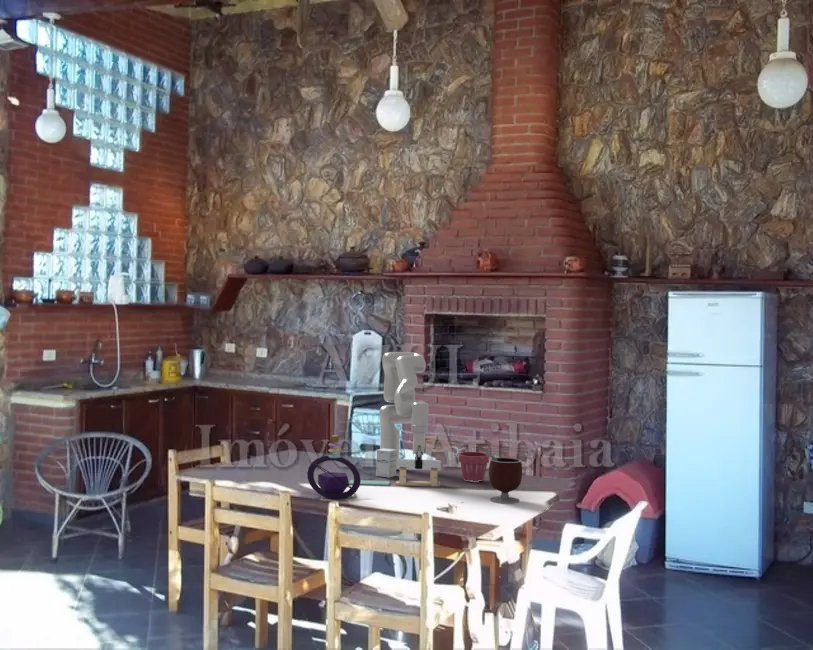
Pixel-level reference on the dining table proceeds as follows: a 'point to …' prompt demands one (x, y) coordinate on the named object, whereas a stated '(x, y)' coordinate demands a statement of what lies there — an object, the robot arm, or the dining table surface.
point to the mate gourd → (505, 478)
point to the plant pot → (473, 465)
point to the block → (425, 464)
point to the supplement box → (386, 462)
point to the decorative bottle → (333, 476)
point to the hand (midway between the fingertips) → (418, 467)
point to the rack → (418, 483)
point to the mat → (371, 482)
